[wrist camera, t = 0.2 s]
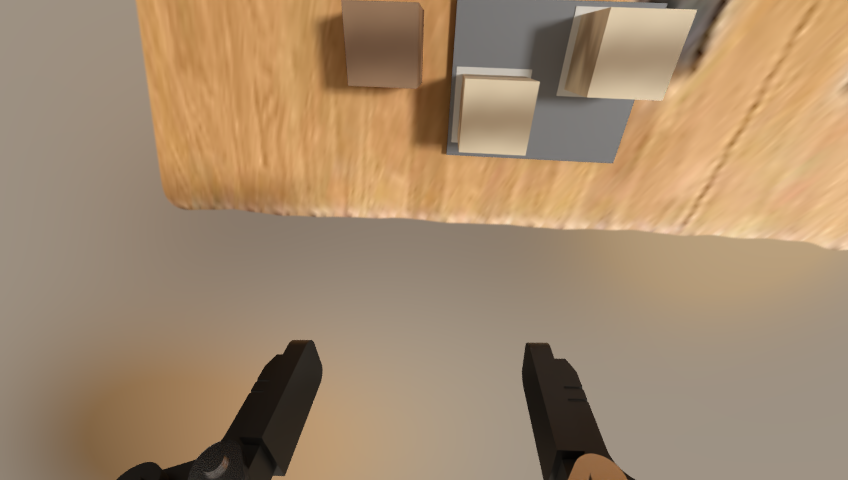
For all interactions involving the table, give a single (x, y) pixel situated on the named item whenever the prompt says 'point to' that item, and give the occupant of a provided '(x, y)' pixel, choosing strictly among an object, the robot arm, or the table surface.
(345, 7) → the walnut cube
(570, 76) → the cube
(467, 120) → the beech cube
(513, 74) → the build board
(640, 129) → the table surface
